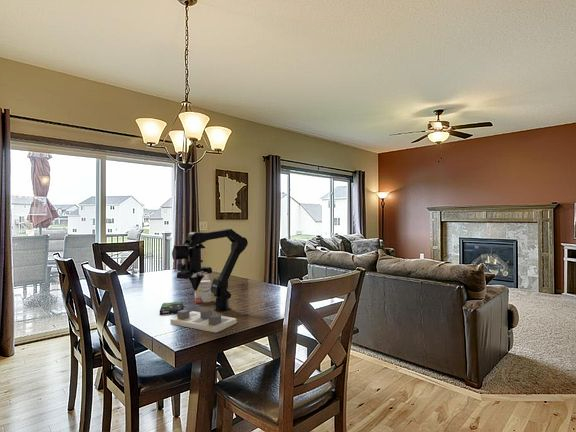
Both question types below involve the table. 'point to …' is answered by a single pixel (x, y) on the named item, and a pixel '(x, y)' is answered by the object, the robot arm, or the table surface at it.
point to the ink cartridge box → (203, 290)
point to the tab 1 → (183, 314)
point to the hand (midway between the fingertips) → (195, 290)
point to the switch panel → (203, 322)
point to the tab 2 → (215, 319)
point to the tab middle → (206, 313)
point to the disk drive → (171, 308)
